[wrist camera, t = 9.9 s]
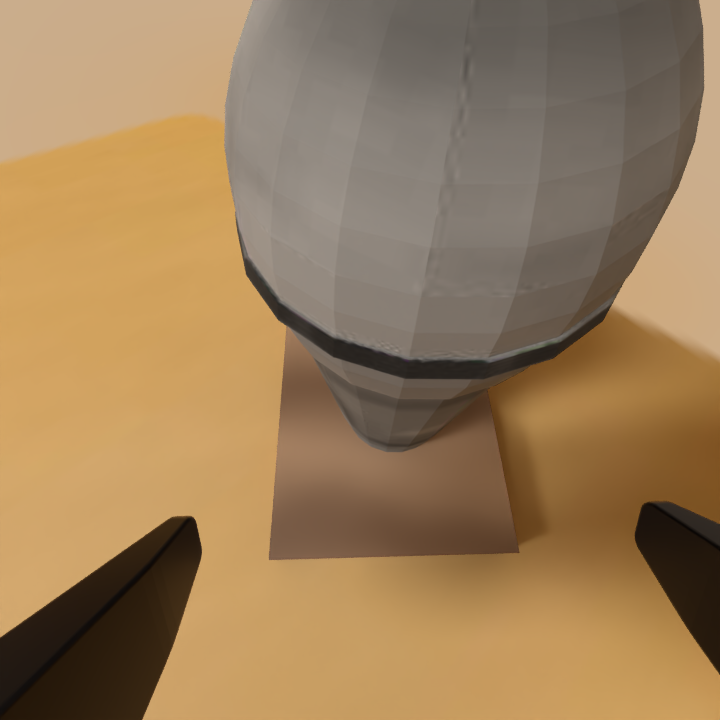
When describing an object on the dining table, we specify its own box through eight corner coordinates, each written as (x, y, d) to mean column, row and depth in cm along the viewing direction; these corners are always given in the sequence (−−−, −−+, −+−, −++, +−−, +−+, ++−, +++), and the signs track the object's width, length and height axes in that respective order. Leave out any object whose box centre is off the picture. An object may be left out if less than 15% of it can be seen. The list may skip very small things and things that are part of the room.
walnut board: (506, 551, 16) (519, 552, 14) (277, 558, 16) (268, 559, 14) (461, 304, 21) (467, 289, 20) (294, 310, 21) (289, 295, 20)
